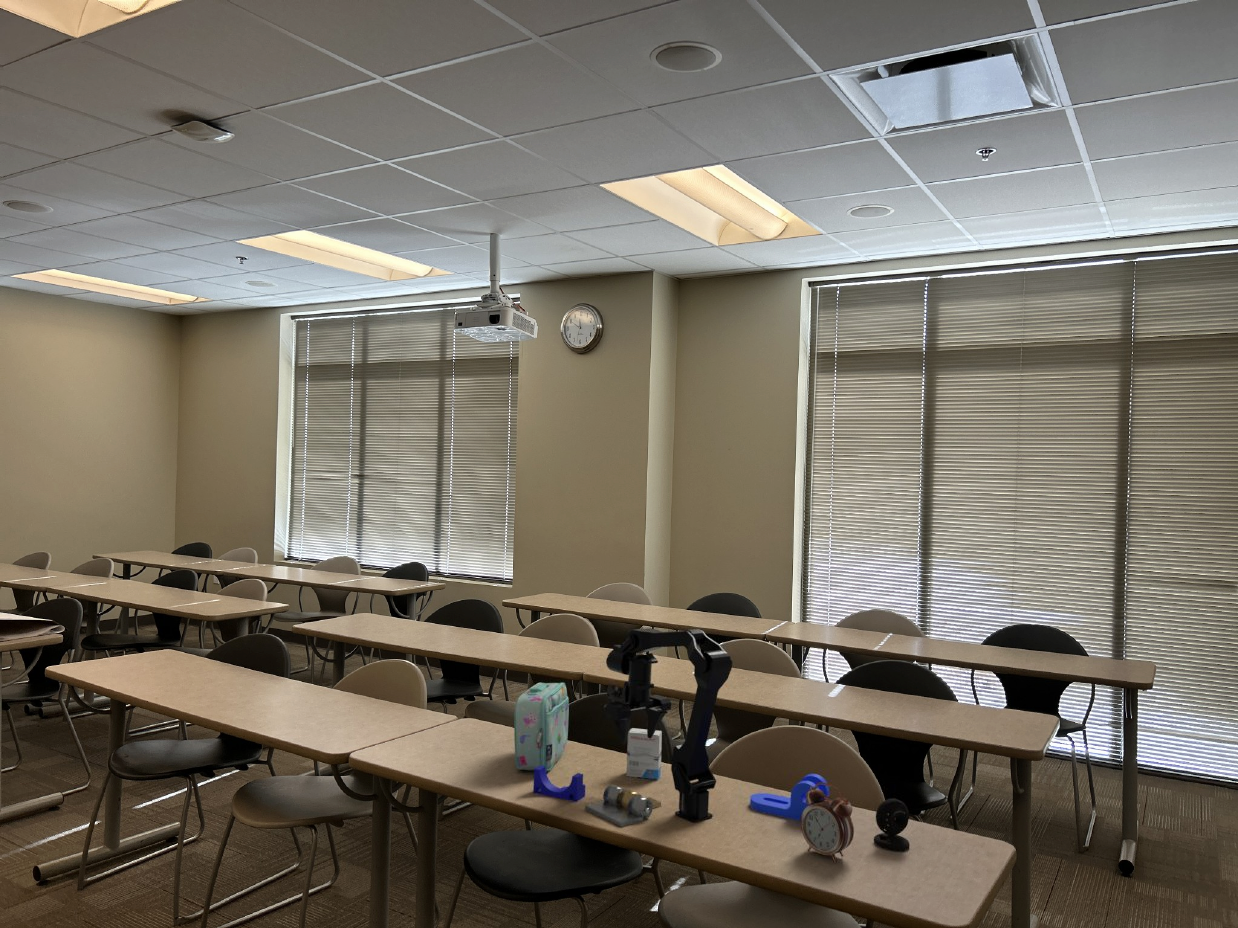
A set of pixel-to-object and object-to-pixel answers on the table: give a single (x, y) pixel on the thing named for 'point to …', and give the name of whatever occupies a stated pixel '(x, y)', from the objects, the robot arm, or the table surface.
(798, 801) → the bracket
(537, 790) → the blue semicircular cradle
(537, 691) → the lunch box
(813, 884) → the table surface
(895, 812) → the webcam
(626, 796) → the brass hinge knuckle
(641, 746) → the ink box
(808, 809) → the alarm clock
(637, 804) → the fixed leaf
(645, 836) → the table surface
